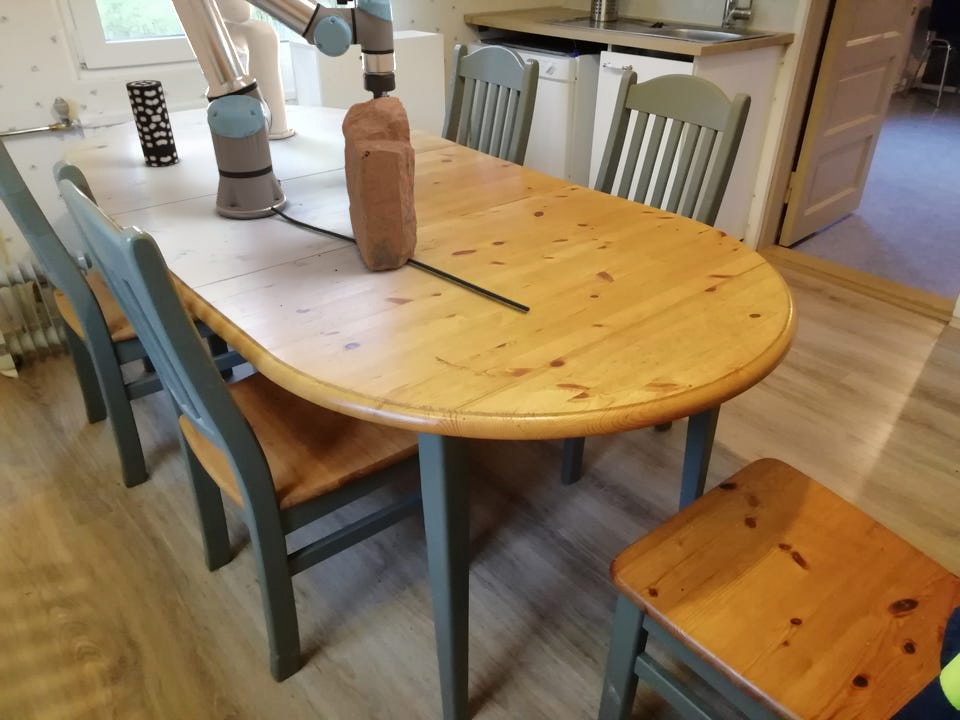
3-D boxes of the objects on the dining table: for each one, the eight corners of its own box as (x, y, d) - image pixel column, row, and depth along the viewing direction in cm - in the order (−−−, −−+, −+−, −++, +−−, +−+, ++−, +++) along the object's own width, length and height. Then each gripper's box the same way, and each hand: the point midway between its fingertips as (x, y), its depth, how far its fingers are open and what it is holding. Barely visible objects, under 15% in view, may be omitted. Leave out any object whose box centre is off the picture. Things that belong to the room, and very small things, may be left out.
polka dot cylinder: (184, 157, 190) (167, 80, 179) (169, 166, 183) (151, 87, 172) (155, 156, 190) (136, 79, 179) (139, 165, 183) (119, 86, 172)
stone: (428, 267, 131) (421, 113, 117) (369, 275, 128) (354, 118, 114) (402, 230, 149) (394, 92, 134) (350, 236, 146) (336, 96, 131)
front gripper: (369, 65, 168) (375, 160, 181) (355, 78, 154) (363, 181, 166) (400, 65, 168) (404, 161, 180) (388, 79, 153) (394, 182, 166)
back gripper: (333, -64, 209) (338, 0, 218) (320, -62, 195) (327, 5, 204) (357, -63, 209) (362, 0, 218) (347, -62, 195) (352, 6, 204)
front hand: (384, 170), depth 173 cm, fingers closed on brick, 4 cm apart
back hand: (345, 2), depth 211 cm, fingers open, 9 cm apart
